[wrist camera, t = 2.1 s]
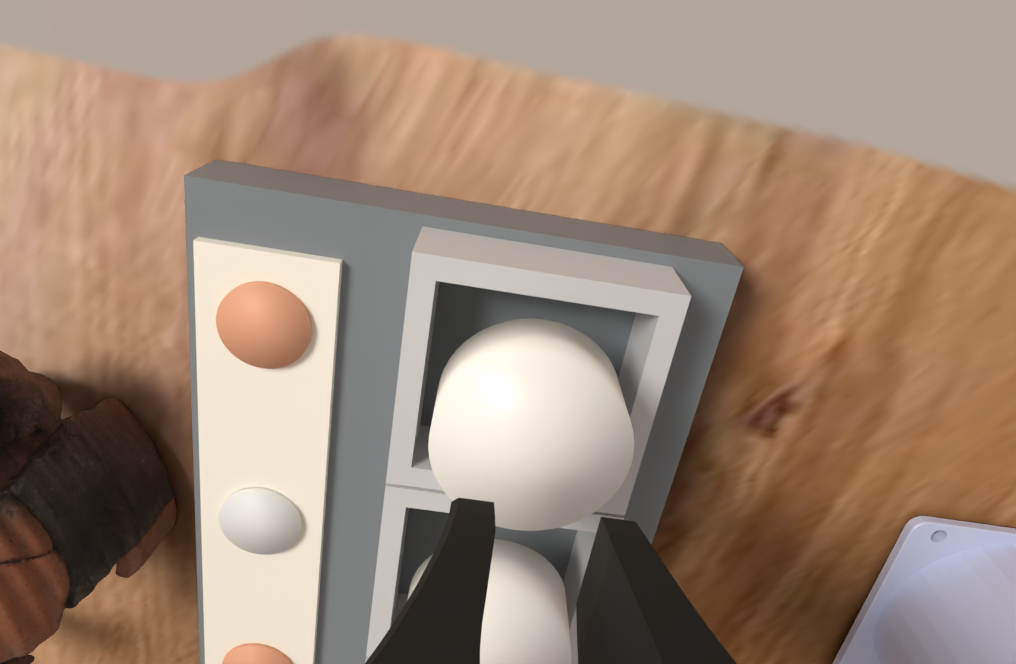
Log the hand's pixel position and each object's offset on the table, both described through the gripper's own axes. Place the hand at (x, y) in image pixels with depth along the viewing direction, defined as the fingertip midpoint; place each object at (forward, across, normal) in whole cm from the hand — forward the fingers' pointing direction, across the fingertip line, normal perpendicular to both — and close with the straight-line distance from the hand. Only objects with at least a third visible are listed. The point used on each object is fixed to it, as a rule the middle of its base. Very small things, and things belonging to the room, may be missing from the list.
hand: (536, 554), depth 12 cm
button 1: (+5, 0, 0) cm, 5 cm away
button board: (+9, +2, +6) cm, 12 cm away
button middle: (+5, 0, +7) cm, 8 cm away
